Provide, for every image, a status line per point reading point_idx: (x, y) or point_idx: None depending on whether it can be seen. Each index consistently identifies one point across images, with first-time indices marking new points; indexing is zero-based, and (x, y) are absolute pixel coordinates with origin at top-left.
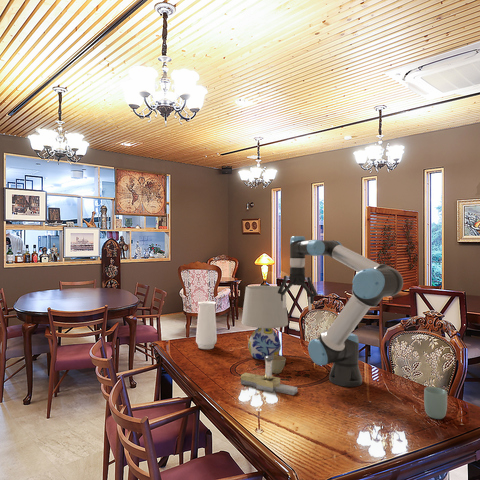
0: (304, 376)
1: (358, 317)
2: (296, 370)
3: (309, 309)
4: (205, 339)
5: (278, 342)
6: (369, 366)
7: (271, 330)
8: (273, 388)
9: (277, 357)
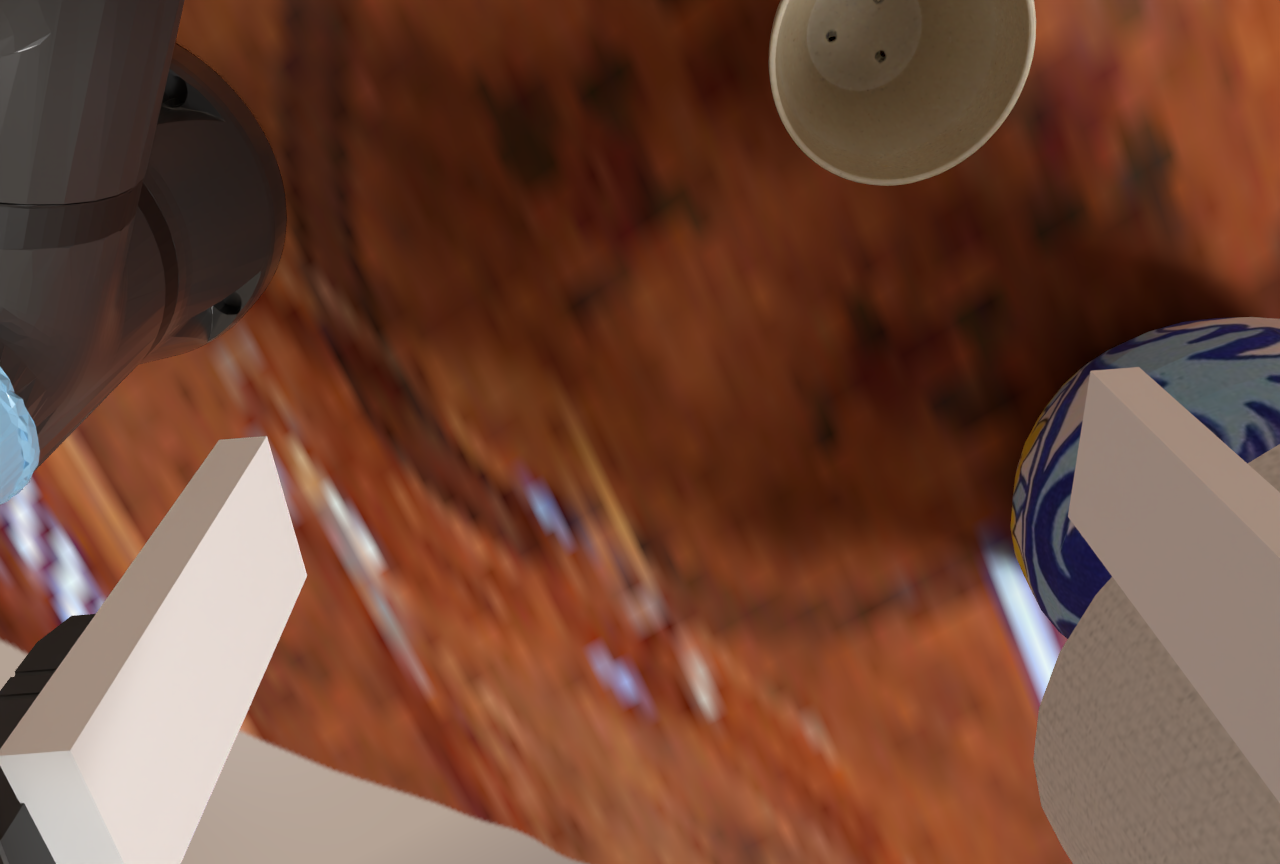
0: (527, 85)
1: None
2: (682, 222)
3: (222, 452)
4: None
5: (1057, 554)
6: None
7: None
8: None
9: (916, 166)
